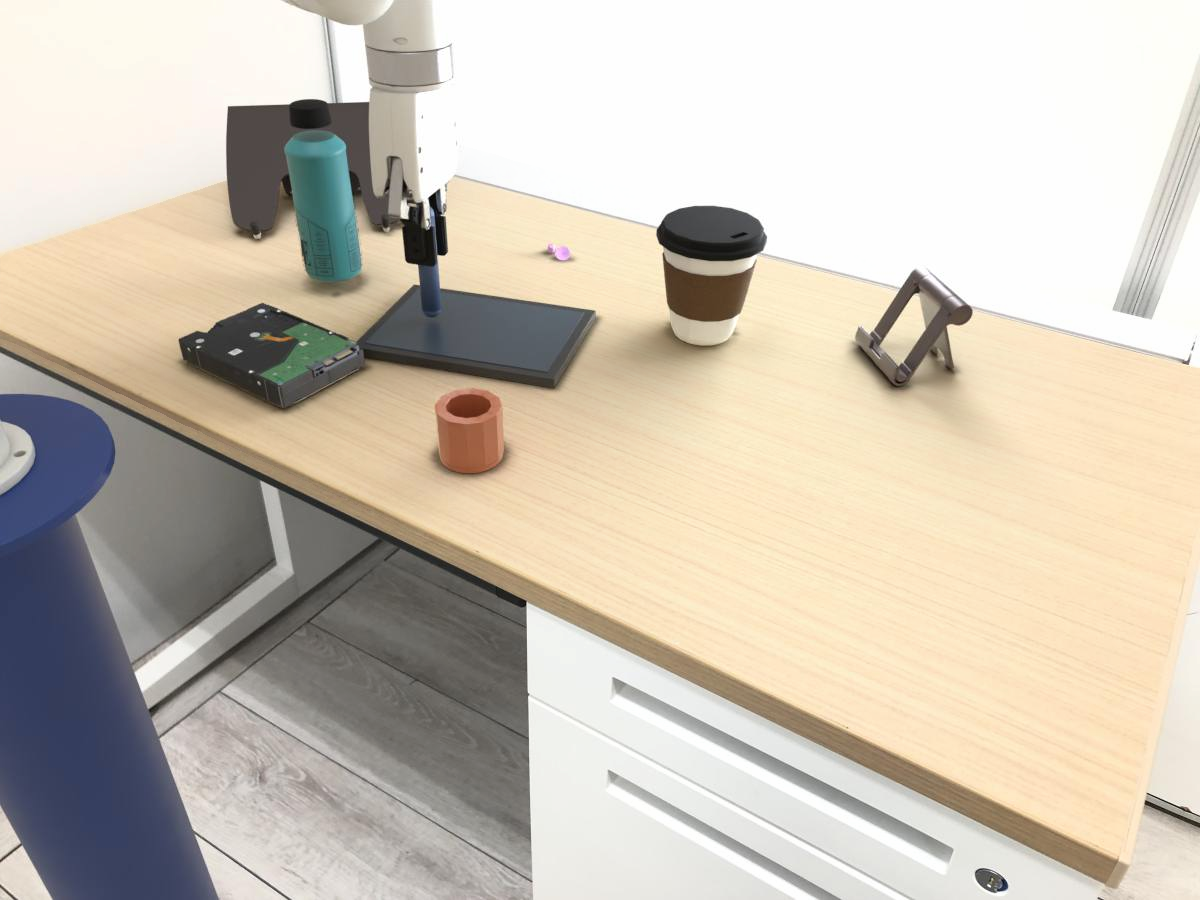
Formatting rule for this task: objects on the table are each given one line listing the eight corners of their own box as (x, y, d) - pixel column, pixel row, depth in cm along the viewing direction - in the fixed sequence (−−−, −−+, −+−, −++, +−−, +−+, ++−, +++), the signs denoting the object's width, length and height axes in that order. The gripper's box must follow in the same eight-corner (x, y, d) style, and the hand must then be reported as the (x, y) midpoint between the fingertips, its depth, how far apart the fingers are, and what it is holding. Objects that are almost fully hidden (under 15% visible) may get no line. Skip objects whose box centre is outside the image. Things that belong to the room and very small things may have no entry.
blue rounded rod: (437, 322, 98) (428, 209, 91) (419, 319, 99) (409, 207, 92) (445, 313, 100) (436, 202, 93) (427, 310, 100) (417, 199, 93)
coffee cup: (775, 337, 100) (791, 228, 93) (700, 368, 95) (711, 255, 88) (703, 299, 107) (713, 195, 100) (629, 326, 102) (634, 218, 95)
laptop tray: (237, 276, 123) (221, 227, 115) (238, 145, 133) (223, 92, 125) (419, 265, 127) (415, 217, 119) (406, 139, 137) (401, 87, 129)
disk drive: (181, 365, 93) (285, 412, 86) (174, 339, 91) (279, 385, 85) (266, 325, 100) (368, 365, 93) (261, 300, 99) (364, 340, 92)
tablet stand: (852, 343, 100) (867, 269, 95) (921, 338, 101) (939, 264, 96) (890, 387, 93) (908, 309, 88) (964, 380, 94) (986, 303, 89)
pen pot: (490, 478, 79) (487, 428, 76) (429, 467, 80) (424, 417, 77) (512, 442, 83) (510, 394, 80) (454, 432, 84) (450, 384, 82)
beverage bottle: (376, 282, 109) (355, 101, 97) (327, 301, 105) (299, 114, 93) (342, 265, 112) (317, 89, 101) (293, 283, 108) (262, 101, 97)
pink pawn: (564, 268, 117) (573, 256, 117) (564, 263, 115) (573, 251, 115) (544, 255, 117) (552, 243, 117) (544, 249, 115) (552, 238, 116)
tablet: (554, 388, 91) (554, 378, 90) (352, 355, 95) (351, 346, 94) (595, 318, 103) (595, 309, 102) (414, 292, 107) (413, 283, 106)
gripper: (408, 42, 92) (424, 225, 103) (329, 83, 79) (356, 286, 90) (482, 49, 90) (490, 233, 101) (412, 91, 78) (430, 297, 88)
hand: (426, 257), depth 95 cm, fingers closed on blue rounded rod, 2 cm apart
